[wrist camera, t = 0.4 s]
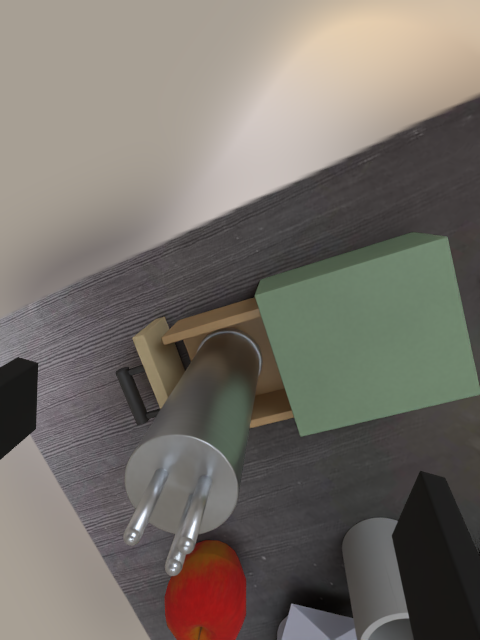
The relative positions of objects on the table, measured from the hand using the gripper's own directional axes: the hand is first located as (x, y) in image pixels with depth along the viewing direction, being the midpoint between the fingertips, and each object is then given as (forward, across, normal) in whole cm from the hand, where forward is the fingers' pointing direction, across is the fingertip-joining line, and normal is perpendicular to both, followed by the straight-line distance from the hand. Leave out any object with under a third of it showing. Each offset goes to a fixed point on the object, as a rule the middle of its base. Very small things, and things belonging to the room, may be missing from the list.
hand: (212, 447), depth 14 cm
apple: (+28, 0, -37) cm, 46 cm away
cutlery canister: (+28, -3, -10) cm, 30 cm away
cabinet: (+31, +8, -4) cm, 32 cm away
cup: (+29, +20, -30) cm, 47 cm away
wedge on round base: (+28, +15, -45) cm, 55 cm away
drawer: (+29, -5, -11) cm, 31 cm away
